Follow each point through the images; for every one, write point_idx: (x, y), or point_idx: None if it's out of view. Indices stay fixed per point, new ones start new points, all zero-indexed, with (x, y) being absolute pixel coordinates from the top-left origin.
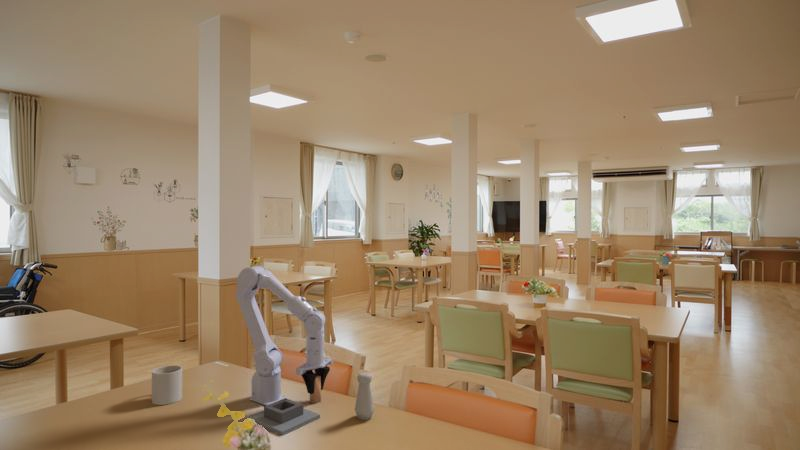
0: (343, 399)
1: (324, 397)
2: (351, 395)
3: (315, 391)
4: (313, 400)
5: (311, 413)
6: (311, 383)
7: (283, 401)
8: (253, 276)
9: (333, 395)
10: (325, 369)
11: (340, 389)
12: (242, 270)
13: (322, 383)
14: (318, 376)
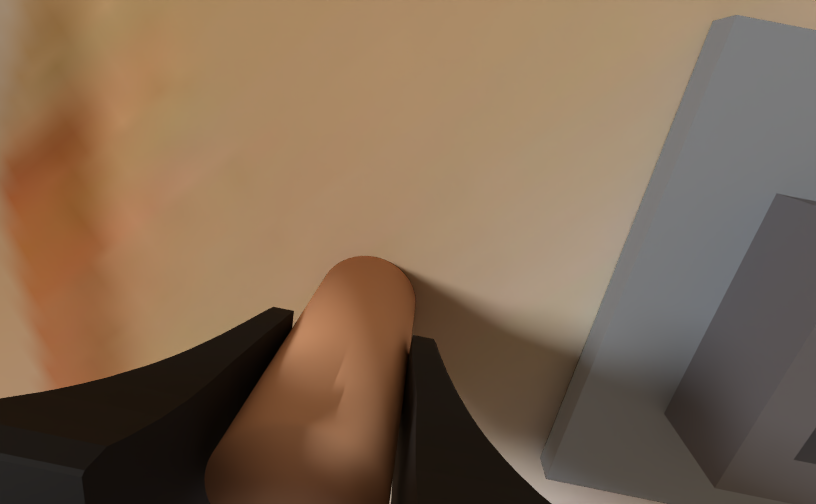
0: (193, 79)
1: (258, 276)
2: (64, 61)
3: (392, 332)
4: (410, 301)
5: (731, 128)
6: (477, 425)
7: (810, 463)
8: None
9: (177, 229)
10: (85, 476)
11: (35, 249)
12: None
13: (258, 341)
14: (261, 460)
